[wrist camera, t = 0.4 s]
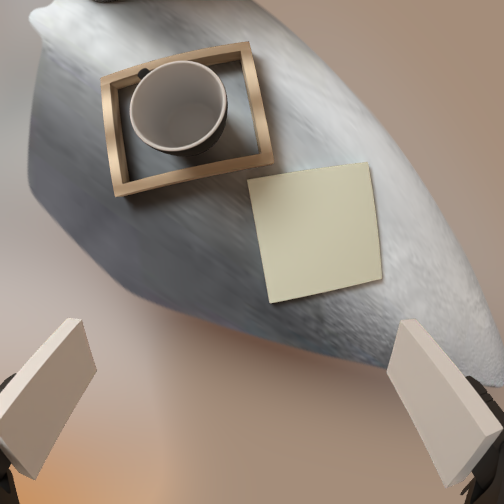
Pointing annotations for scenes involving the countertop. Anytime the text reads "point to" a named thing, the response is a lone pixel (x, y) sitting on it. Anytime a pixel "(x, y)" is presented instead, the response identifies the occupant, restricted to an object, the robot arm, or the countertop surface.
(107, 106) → the rectangular wooden frame
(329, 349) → the countertop surface
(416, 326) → the robot arm
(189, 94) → the mug
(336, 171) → the tile
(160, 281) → the countertop surface
